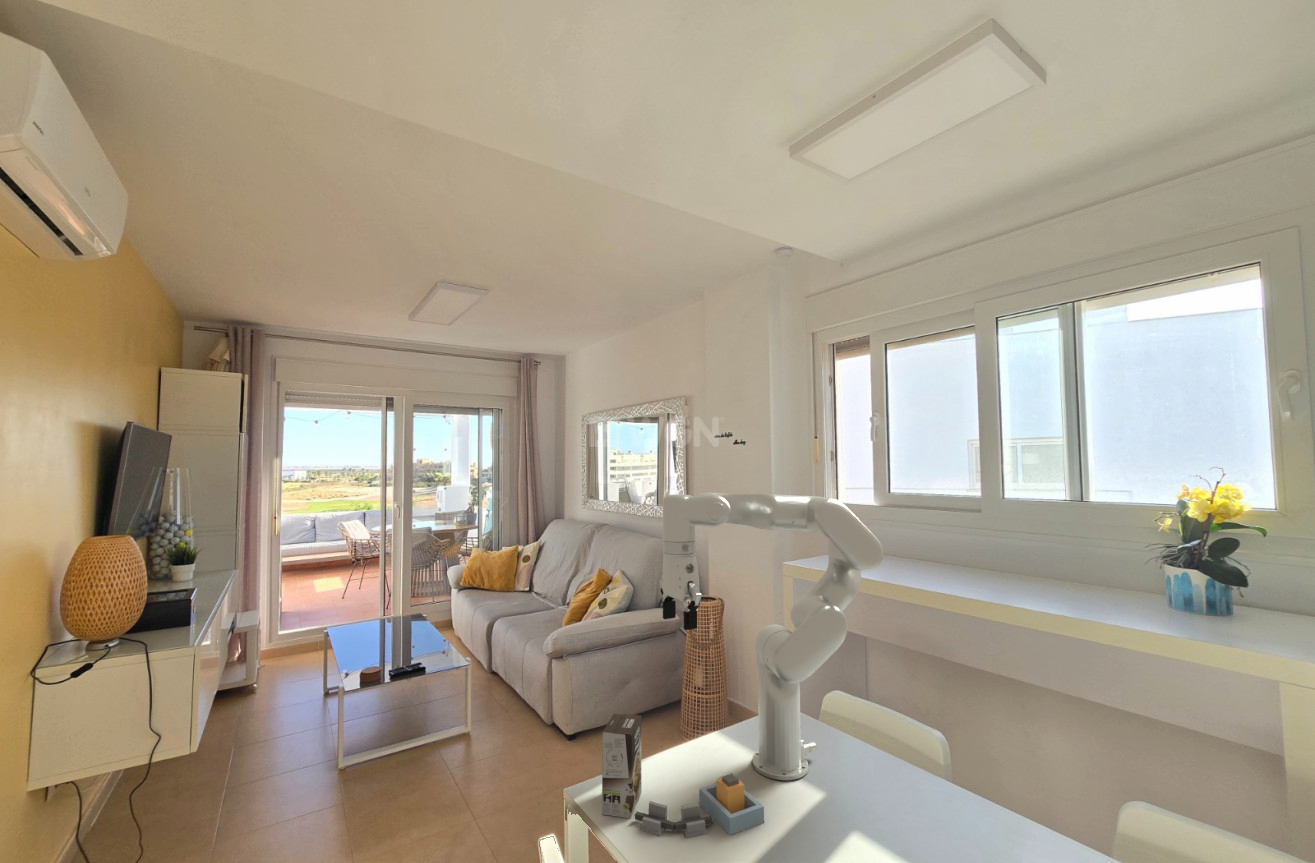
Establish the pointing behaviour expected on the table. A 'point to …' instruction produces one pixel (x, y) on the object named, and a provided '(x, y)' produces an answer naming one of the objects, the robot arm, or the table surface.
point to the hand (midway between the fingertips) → (679, 623)
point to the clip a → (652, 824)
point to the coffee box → (621, 765)
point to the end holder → (729, 821)
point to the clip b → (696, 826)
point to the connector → (731, 793)
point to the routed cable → (673, 825)
